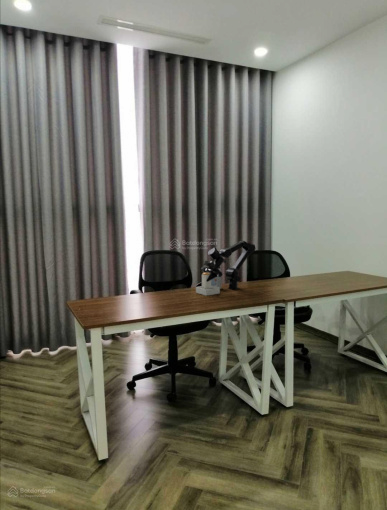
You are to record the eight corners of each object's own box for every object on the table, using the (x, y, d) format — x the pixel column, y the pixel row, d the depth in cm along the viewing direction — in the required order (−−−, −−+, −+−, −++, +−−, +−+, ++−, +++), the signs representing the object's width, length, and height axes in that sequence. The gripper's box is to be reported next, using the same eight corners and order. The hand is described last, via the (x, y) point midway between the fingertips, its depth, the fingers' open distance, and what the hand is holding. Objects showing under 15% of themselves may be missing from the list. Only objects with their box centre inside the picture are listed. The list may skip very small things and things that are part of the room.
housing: (209, 290, 267) (209, 284, 266) (219, 293, 257) (219, 287, 256) (196, 292, 260) (195, 287, 259) (206, 295, 250) (205, 289, 250)
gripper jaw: (207, 288, 261) (207, 272, 259) (211, 290, 257) (211, 273, 255) (201, 289, 258) (201, 272, 257) (205, 290, 254) (205, 273, 253)
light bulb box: (204, 288, 273) (204, 274, 272) (208, 287, 279) (208, 273, 278) (218, 290, 268) (217, 275, 267) (221, 288, 274) (221, 274, 273)
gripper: (202, 255, 265) (190, 271, 260) (218, 257, 249) (206, 275, 244) (211, 265, 270) (199, 281, 265) (227, 268, 255) (215, 285, 250)
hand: (204, 280), depth 256 cm, fingers closed on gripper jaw, 5 cm apart
